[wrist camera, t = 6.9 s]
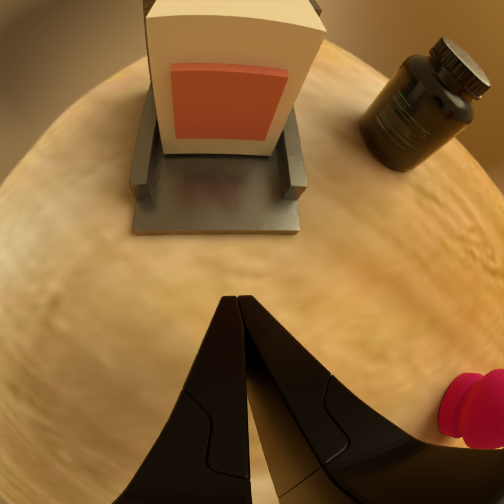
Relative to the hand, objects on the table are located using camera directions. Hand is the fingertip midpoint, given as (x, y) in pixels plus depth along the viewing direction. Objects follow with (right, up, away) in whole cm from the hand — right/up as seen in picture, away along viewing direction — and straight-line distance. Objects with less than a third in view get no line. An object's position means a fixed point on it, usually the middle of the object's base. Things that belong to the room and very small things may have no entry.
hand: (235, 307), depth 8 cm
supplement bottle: (+13, +12, +14) cm, 23 cm away
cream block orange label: (-2, +9, +10) cm, 14 cm away
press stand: (-2, +9, +11) cm, 14 cm away
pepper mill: (+20, -13, +9) cm, 25 cm away
